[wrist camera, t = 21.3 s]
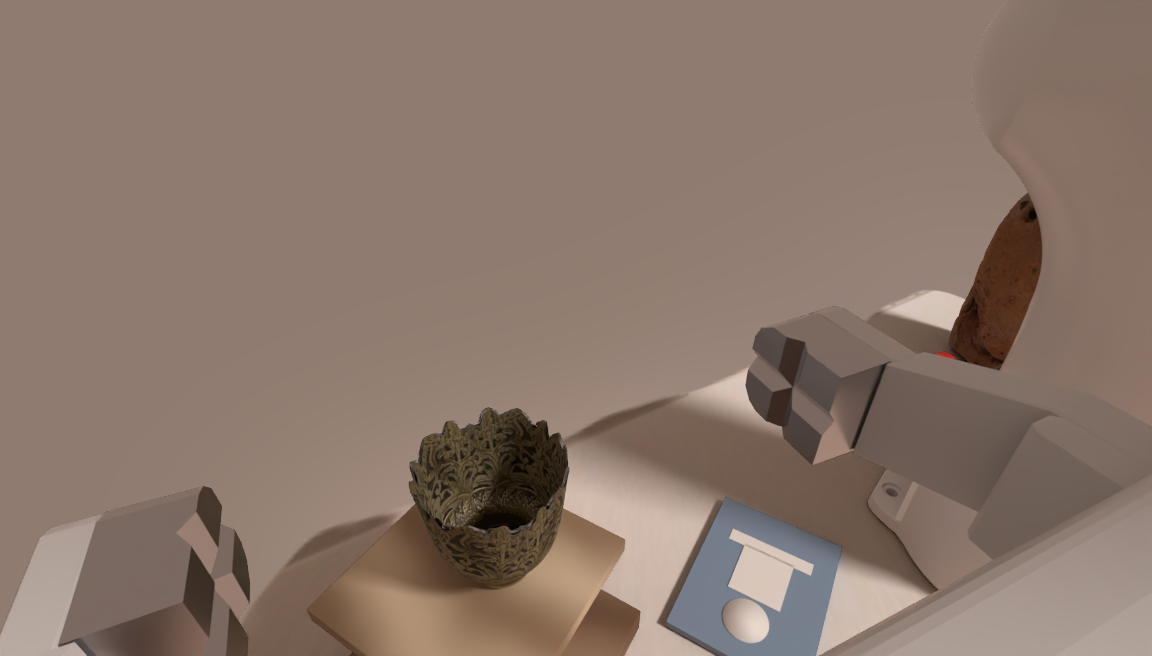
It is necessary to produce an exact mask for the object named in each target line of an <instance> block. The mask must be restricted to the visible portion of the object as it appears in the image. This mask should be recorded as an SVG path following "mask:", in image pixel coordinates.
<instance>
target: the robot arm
mask: <svg viewBox="0 0 1152 656" xmlns="http://www.w3.org/2000/svg"><path fill="white" fill-rule="evenodd" d="M971 94H972V104H973V109H974V113H975V117H976V119H977V122H978V125H979V127H980V129H981V131H982V133H983V134H984V136H985V138H986V139H987V141H988V142H989V144H990V145H991V146H992V147H993V148H994V149H995V150H996V151H997V152H998V153H999V154H1000V155H1001V156H1002V157H1003V158H1004V159H1005V160H1006V161H1007V163H1008V164H1009V165H1010V166H1011V167H1012V169H1013V170H1014V171H1015V172H1016V174H1017V175H1018V176H1019V178H1020V179H1021V181H1022V183H1023V184H1024V186H1025V188H1026V190H1027V191H1028V194H1029V196H1030V198H1031V200H1032V202H1033V205H1034V208H1035V211H1036V213H1037V217H1038V221H1039V225H1040V231H1041V238H1042V264H1041V271H1040V275H1039V280H1038V283H1037V286H1036V289H1035V292H1034V294H1033V297H1032V300H1031V302H1030V305H1029V308H1028V310H1027V313H1026V315H1025V318H1024V320H1023V322H1022V325H1021V327H1020V330H1019V332H1018V334H1017V336H1016V338H1015V340H1014V343H1013V345H1012V347H1011V349H1010V351H1009V353H1008V355H1007V357H1006V359H1005V361H1004V363H1003V364H1001V365H999V366H997V367H996V368H995V369H991V368H987V367H983V366H979V365H975V364H971V363H967V362H963V361H959V360H955V359H951V358H947V357H943V356H939V355H935V354H931V353H927V352H921V353H918V354H917V353H915V352H914V351H912V350H910V349H909V348H907V347H906V346H904V345H902V344H901V343H899V342H897V341H896V340H894V339H893V338H891V337H889V336H888V335H886V334H885V333H883V332H881V331H880V330H878V329H877V328H875V327H873V326H872V325H870V324H869V323H867V322H865V321H864V320H862V319H860V318H859V317H857V316H856V315H854V314H852V313H851V312H849V311H847V310H846V309H844V308H839V307H835V306H832V307H829V308H826V309H822V310H819V311H816V312H813V313H810V314H808V315H804V316H800V317H798V318H794V319H790V320H787V321H783V322H780V323H777V324H773V325H770V326H766V327H763V328H761V329H760V331H759V332H758V333H757V335H756V336H755V340H754V344H753V350H754V352H755V354H756V355H757V358H756V360H755V361H754V362H753V364H752V365H751V366H750V368H749V369H748V373H747V379H746V389H747V393H748V397H749V401H750V402H751V404H752V406H753V407H754V409H755V410H756V412H757V413H758V414H759V415H760V416H761V417H762V418H763V419H764V420H765V421H767V422H770V423H773V424H775V425H778V426H781V427H782V429H783V436H784V439H785V440H786V441H787V442H788V443H789V444H790V445H791V446H793V447H794V448H795V449H796V450H797V451H798V452H799V453H800V454H801V455H802V456H803V457H804V458H805V459H806V460H807V461H808V462H809V463H810V464H812V465H815V464H818V463H820V462H823V461H826V460H829V459H831V458H834V457H837V456H840V455H842V454H845V453H848V452H851V451H853V450H854V452H853V454H856V455H858V456H860V457H862V458H864V459H866V460H868V461H870V462H873V463H875V464H877V465H879V466H881V467H883V468H885V469H886V470H885V472H884V473H883V475H882V477H881V478H880V480H879V482H878V484H877V485H876V487H875V489H874V490H873V492H872V494H871V495H870V497H869V499H868V505H869V507H870V509H871V510H872V512H873V513H874V514H875V515H876V516H877V517H878V518H879V519H880V520H881V521H882V522H883V523H884V524H885V525H887V526H888V527H889V528H890V529H891V530H892V531H893V532H895V533H896V535H897V536H898V537H899V539H900V540H901V541H902V543H903V545H904V546H905V548H906V550H907V551H908V553H909V555H910V556H911V558H912V559H913V561H914V562H915V564H916V565H917V566H918V568H919V569H920V570H921V572H922V573H923V574H924V575H925V576H926V578H927V579H928V580H929V581H930V582H931V583H932V584H933V585H934V586H935V587H936V588H937V589H938V591H936V592H934V593H932V594H930V595H929V596H927V597H925V598H923V599H921V600H919V601H918V602H916V603H914V604H912V605H910V606H908V607H907V608H905V609H903V610H901V611H899V612H898V613H896V614H894V615H892V616H890V617H888V618H887V619H885V620H883V621H881V622H879V623H877V624H876V625H874V626H872V627H870V628H868V629H866V630H865V631H863V632H861V633H859V634H857V635H856V636H854V637H852V638H850V639H848V640H846V641H845V642H843V643H841V644H839V645H837V646H835V647H834V648H832V649H830V650H828V651H826V652H824V653H823V654H821V655H819V656H1152V0H1005V1H1004V2H1003V3H1002V4H1001V6H1000V7H999V9H998V10H997V12H996V14H995V15H994V16H993V18H992V20H991V21H990V23H989V25H988V27H987V29H986V31H985V33H984V35H983V37H982V40H981V42H980V45H979V48H978V51H977V54H976V57H975V60H974V66H973V71H972V81H971ZM888 494H889V495H888ZM890 495H891V496H890ZM221 511H222V506H221V504H220V502H219V500H218V499H217V497H216V495H215V494H214V492H213V490H212V489H211V488H209V487H205V486H203V487H199V488H195V489H191V490H188V491H184V492H180V493H176V494H172V495H168V496H165V497H161V498H157V499H153V500H150V501H146V502H142V503H138V504H134V505H130V506H127V507H123V508H120V509H115V510H111V511H108V512H105V513H104V514H100V515H96V516H92V517H88V518H85V519H81V520H77V521H73V522H70V523H65V524H61V525H58V526H54V527H51V528H50V529H49V530H48V531H47V532H46V533H44V534H43V535H42V536H41V537H40V538H39V540H38V542H37V544H36V547H35V549H34V552H33V554H32V556H31V559H30V561H29V564H28V566H27V569H26V571H25V574H24V576H23V579H22V581H21V583H20V586H19V588H18V591H17V593H16V596H15V598H14V601H13V603H12V606H11V608H10V610H9V613H8V615H7V618H6V620H5V623H4V625H3V628H2V630H1V633H0V656H247V652H248V636H247V634H246V633H245V631H244V629H243V628H242V626H241V624H240V623H239V621H238V619H239V618H240V616H241V615H242V613H243V612H244V610H245V609H246V607H247V606H248V604H249V602H250V579H249V573H248V565H247V559H246V556H245V552H244V550H243V547H242V543H241V541H240V539H239V537H238V535H237V533H236V531H235V530H234V529H231V528H229V527H226V526H223V525H221V524H220V522H221Z"/></svg>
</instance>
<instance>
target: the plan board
mask: <svg viewBox="0 0 1152 656" xmlns="http://www.w3.org/2000/svg"><path fill="white" fill-rule="evenodd" d="M841 551H842V547H841V546H839V545H837V544H834V543H832V542H830V541H827V540H825V539H823V538H820V537H818V536H816V535H813V534H811V533H809V532H806V531H804V530H802V529H799V528H797V527H795V526H792V525H790V524H788V523H785V522H783V521H781V520H778V519H776V518H774V517H771V516H769V515H767V514H764V513H762V512H760V511H757V510H755V509H753V508H750V507H748V506H746V505H743V504H741V503H739V502H736V501H734V500H732V499H729V498H727V497H725V499H724V501H723V504H722V506H721V508H720V510H719V512H718V514H717V516H716V518H715V520H714V522H713V524H712V527H711V529H710V531H709V533H708V535H707V537H706V539H705V541H704V543H703V545H702V548H701V550H700V552H699V554H698V556H697V558H696V560H695V562H694V564H693V566H692V568H691V571H690V573H689V575H688V577H687V579H686V581H685V583H684V585H683V587H682V589H681V591H680V594H679V596H678V598H677V600H676V602H675V604H674V606H673V608H672V610H671V612H670V615H669V617H668V619H667V621H666V627H667V628H669V629H671V630H673V631H675V632H676V633H678V634H680V635H682V636H684V637H685V638H687V639H689V640H691V641H693V642H694V643H696V644H698V645H700V646H702V647H703V648H705V649H707V650H709V651H711V652H712V653H714V654H716V655H718V656H816V653H817V649H818V645H819V641H820V637H821V633H822V628H823V624H824V620H825V616H826V612H827V608H828V604H829V600H830V596H831V592H832V587H833V583H834V579H835V575H836V571H837V567H838V563H839V559H840V555H841Z"/></svg>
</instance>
